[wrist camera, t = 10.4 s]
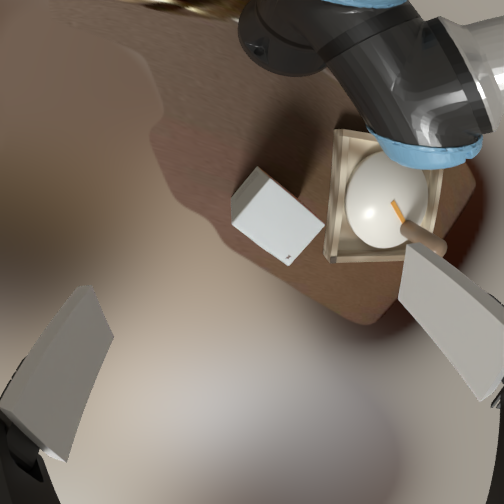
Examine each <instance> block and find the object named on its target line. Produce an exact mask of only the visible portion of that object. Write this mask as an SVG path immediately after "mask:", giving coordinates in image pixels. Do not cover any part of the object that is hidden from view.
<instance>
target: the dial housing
mask: <svg viewBox="0 0 504 504" xmlns="http://www.w3.org/2000/svg"><path fill="white" fill-rule="evenodd" d="M379 151H383V149H382V148H381V146H380V145H379V143H378V141H377V140H376V138H375V137H374V135H372V134H370V133H364V132H358V131H352V130H346V129H334V141H333V157H332V171H331V184H330V195H329V205H328V215H327V224H326V232H325V240H324V248H323V254H324V256H325V257H326V258H327V260H328V261H329V263H341V262H378V261H404V260H405V252H406V244H411V243H412V242H411V241H409V240H406V241H405V242H403V243H402V244H400V245H397V246H395V247H391V248H377V247H373V246H371V245H368V244H367V243H365V242H364V241H363V240H361V239H360V238H359V237H358V236H357V235H356V234H355V233H354V232H353V230H352V229H351V227H350V226H349V223H348V221H347V218H346V215H345V209H344V197H345V189H346V186H347V182H348V180H349V178H350V175H351V174H352V172H353V170H354V169H355V168H356V166H357V165H358V164H359V163H360V162H361V161H362V160H363V159H365V158H366V157H367V156H369V155H371V154H373V153H376V152H379ZM422 172H423V174H424V176H425V179H426V182H427V187H428V204H427V209H426V213H425V216H424V218H423V220H422V223H421V224H420V226H421V227H423V228H424V229H426V230H428V231H429V232H431V233H433V229H434V224H435V219H436V214H437V209H438V203H439V197H440V191H441V184H442V176H443V169H435V170H422Z"/></svg>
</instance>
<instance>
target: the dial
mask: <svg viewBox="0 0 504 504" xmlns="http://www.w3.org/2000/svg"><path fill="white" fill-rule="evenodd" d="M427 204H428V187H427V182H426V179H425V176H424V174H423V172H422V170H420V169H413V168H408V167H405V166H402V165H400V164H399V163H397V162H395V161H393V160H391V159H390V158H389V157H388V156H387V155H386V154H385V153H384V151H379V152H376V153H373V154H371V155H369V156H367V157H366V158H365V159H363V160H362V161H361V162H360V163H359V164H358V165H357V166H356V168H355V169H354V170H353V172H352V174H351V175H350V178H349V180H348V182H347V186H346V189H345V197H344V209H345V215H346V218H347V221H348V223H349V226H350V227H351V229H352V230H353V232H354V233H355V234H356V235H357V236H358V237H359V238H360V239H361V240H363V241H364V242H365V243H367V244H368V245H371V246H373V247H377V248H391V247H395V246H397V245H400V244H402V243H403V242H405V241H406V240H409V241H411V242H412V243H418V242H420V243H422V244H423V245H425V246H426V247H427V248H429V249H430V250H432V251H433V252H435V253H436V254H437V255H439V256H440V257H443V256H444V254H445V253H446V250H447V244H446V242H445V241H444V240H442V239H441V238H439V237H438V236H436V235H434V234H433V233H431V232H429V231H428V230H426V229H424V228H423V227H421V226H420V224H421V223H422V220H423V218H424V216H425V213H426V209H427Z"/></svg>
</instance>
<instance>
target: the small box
mask: <svg viewBox="0 0 504 504" xmlns="http://www.w3.org/2000/svg"><path fill="white" fill-rule="evenodd" d="M231 215H232V225H233V226H234V227H236V228H237V229H238V230H240V231H241V232H242V233H243V234H245V235H246V236H247V237H249V238H250V239H251V240H253V241H254V242H255V243H257V244H258V245H259V246H260V247H262V248H263V249H264V250H266V251H267V252H269V253H270V254H272V255H273V256H275V257H276V258H278V259H279V260H280V261H282V262H283V263H285V264H286V265H287V266H289V265H290V264H291V263H292V262H293V261H294V260H295V258H296V257H297V256H298V255H299V254H300V253H301V252H302V251H303V250H304V248H305V247H306V246H307V245H308V244H309V243H310V242H311V240H312V239H313V238H314V237H315V236H316V235H317V234H318V233H319V231H320V230H321V229H322V228H323V227H324V226H325V223H324V222H323V221H322V220H321V219H319V218H318V217H317V216H316V215H315V214H314V213H313V212H312V211H311V210H310V209H309V208H308V207H306V206H305V205H304V204H303V203H302V202H301V201H300V200H299V199H298V198H296V197H295V196H294V195H293V194H292V193H290V192H289V191H288V190H287V189H285V188H284V187H283V186H282V185H281V184H279V183H278V182H277V181H276V180H274V179H273V178H272V177H271V176H269V175H268V174H267V173H266V172H265V171H263V170H262V169H261V168H260V167H258V166H257V167H256V168H255V169H254V171H253V172H252V173H251V174H250V175H249V177H248V178H247V179H246V180H245V181H244V183H243V184H242V185H241V186H240V188H239V189H238V190H237V191H236V192H235V194H234V195H233V196H232V197H231Z"/></svg>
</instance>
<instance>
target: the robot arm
mask: <svg viewBox="0 0 504 504" xmlns="http://www.w3.org/2000/svg"><path fill="white" fill-rule="evenodd" d="M238 37H239V41H240V44H241V46H242V48H243V49H244V51H245V52H246V54H247V55H248V56H249V57H250V58H251V59H252V60H253V61H254V62H255V63H256V64H258V65H259V66H261V67H262V68H264V69H266V70H268V71H270V72H273V73H276V74H279V75H283V76H290V77H302V76H308V75H312V74H315V73H318V72H320V71H322V70H323V69H325V68H326V67H328V68H329V69H330V70H331V72H332V73H333V75H334V76H335V77H336V79H337V80H338V82H339V83H340V84H341V86H342V87H343V89H344V90H345V92H346V93H347V95H348V96H349V98H350V99H351V101H352V102H353V104H354V105H355V107H356V108H357V110H358V112H359V113H360V115H361V116H362V118H363V120H364V121H365V123H366V127H367V129H368V131H369V132H370V133H371V134H372V135H374V137H375V138H376V140H377V141H378V143H379V145H380V146H381V148H382V149H383V151H384V153H385V154H386V155H387V156H388V157H389V158H390V159H391V160H393V161H395V162H397V163H399V164H400V165H402V166H405V167H408V168H413V169H420V170H435V169H444V168H449V167H454V166H457V165H460V164H462V163H464V162H465V159H466V158H468V159H472V158H473V157H474V156H476V155H477V154H478V153H479V151H480V149H481V147H482V140H483V135H482V134H486V133H490V132H495V131H496V130H497V128H498V125H499V123H500V120H501V118H502V116H503V114H504V16H500V17H496V18H492V19H487V20H484V21H480V22H476V23H472V24H469V25H459V24H456V23H454V22H452V21H450V20H448V19H445V18H443V17H441V16H440V17H437V18H434V19H431V20H428V21H423V19H422V18H421V17H420V15H419V14H418V13H417V11H416V10H415V9H414V7H413V6H412V5H411V3H410V2H409V1H408V0H251V1H250V2H249V3H248V4H247V5H246V6H245V7H244V9H243V11H242V13H241V15H240V18H239V23H238ZM398 300H399V301H400V302H401V303H402V304H403V305H404V306H405V308H406V309H407V310H408V311H409V312H410V313H411V315H412V316H413V317H414V318H415V319H416V320H417V322H418V323H419V324H420V325H421V326H422V327H423V329H424V330H425V331H426V332H427V333H428V334H429V336H430V337H431V338H432V340H433V341H434V342H435V343H436V345H437V346H438V347H439V348H440V349H441V351H442V352H443V353H444V354H445V356H446V357H447V358H448V360H449V361H450V362H451V364H452V365H453V366H454V368H455V369H456V370H457V371H458V373H459V374H460V375H461V377H462V378H463V380H464V381H465V382H466V384H467V385H468V386H469V388H470V389H471V390H472V392H473V393H474V395H475V396H476V398H477V399H478V401H479V402H481V401H482V400H484V399H485V398H487V397H488V396H490V395H491V394H492V393H493V392H494V391H495V389H496V388H497V386H498V385H499V383H500V382H501V381H502V382H503V384H504V305H503V304H502V305H501V302H499V301H498V300H497V299H496V298H495V297H494V296H492V295H491V294H489V293H487V292H485V291H484V290H483V289H482V288H481V287H479V286H478V285H477V284H476V283H474V282H473V281H472V280H471V279H469V278H468V277H467V276H465V275H464V274H463V273H461V272H460V271H459V270H458V269H456V268H455V267H454V266H452V265H451V264H450V263H448V262H447V261H446V260H444V259H443V258H442V257H440V256H439V255H437V254H436V253H435V252H433V251H432V250H430V249H429V248H427V247H426V246H425V245H423V244H422V243H420V242H418V243H411V244H406V252H405V260H404V266H403V273H402V279H401V285H400V290H399V295H398ZM113 338H114V336H113V334H112V332H111V329H110V327H109V325H108V323H107V320H106V318H105V316H104V314H103V311H102V309H101V307H100V304H99V302H98V300H97V297H96V295H95V292H94V289H93V287H92V285H87V286H78V287H77V288H76V290H75V291H74V292H73V293H72V295H71V296H70V297H69V298H68V300H67V301H66V302H65V304H64V305H63V306H62V307H61V309H60V310H59V311H58V312H57V314H56V315H55V317H54V318H53V319H52V320H51V322H50V323H49V325H48V326H47V328H46V329H45V330H44V332H43V333H42V334H41V336H40V337H39V339H38V340H37V342H36V343H35V344H34V346H33V348H32V349H31V350H30V352H29V354H28V355H27V356H26V357H25V358H24V359H23V360H22V362H21V363H20V365H19V366H18V368H17V369H16V370H17V372H15V373H14V374H13V376H12V380H10V381H9V383H8V384H7V386H6V388H5V390H4V391H3V393H2V395H1V397H0V504H61V503H60V501H59V499H58V497H57V494H56V492H55V490H54V487H53V485H52V482H51V480H50V477H49V474H48V472H47V469H46V466H45V463H44V460H43V458H42V457H41V456H40V455H39V454H38V452H39V449H41V450H42V451H44V452H45V453H46V454H47V455H48V456H50V457H51V458H54V459H57V460H60V461H63V462H67V460H68V457H69V453H70V450H71V447H72V444H73V441H74V437H75V434H76V431H77V428H78V425H79V423H80V420H81V417H82V414H83V411H84V409H85V406H86V403H87V400H88V398H89V395H90V393H91V390H92V388H93V385H94V383H95V380H96V378H97V375H98V373H99V370H100V368H101V365H102V363H103V361H104V358H105V356H106V354H107V352H108V349H109V347H110V345H111V343H112V340H113ZM499 399H500V402H499V404H498V405H497V407H496V408H499V409H500V425H499V437H498V446H497V454H496V461H495V466H494V471H493V476H492V481H491V486H490V490H489V494H488V498H487V501H486V504H504V387H503V388H502V389H501V391H500V392H499V393H498V395H497V396H496V398H495V399H494V400H493V402H492V404H491V408H493V407H494V406H495V404H496V403H497V402H498V401H499Z"/></svg>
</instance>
